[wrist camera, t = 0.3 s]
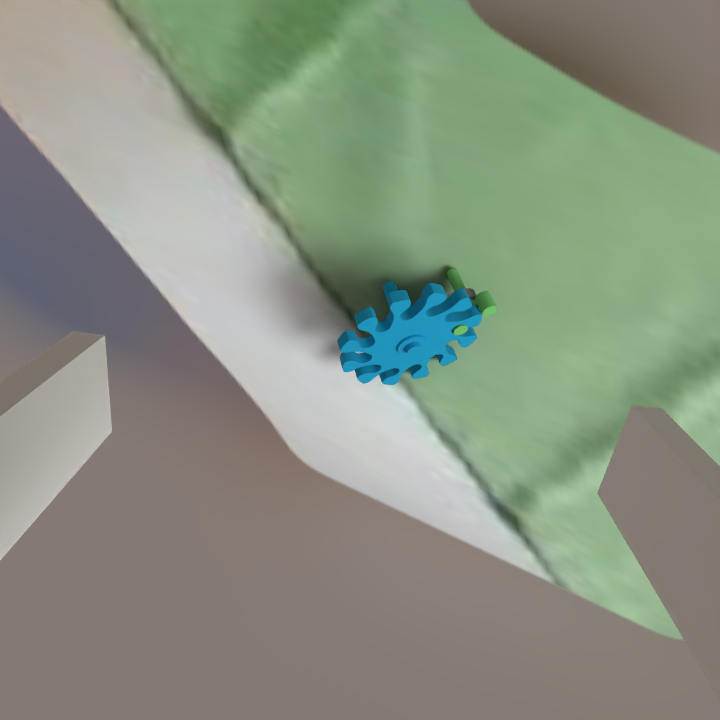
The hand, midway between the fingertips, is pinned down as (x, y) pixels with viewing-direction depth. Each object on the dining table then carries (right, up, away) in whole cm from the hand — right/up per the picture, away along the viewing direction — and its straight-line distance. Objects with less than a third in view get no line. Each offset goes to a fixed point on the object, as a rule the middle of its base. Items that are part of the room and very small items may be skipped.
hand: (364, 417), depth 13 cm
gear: (+4, +4, +26) cm, 27 cm away
